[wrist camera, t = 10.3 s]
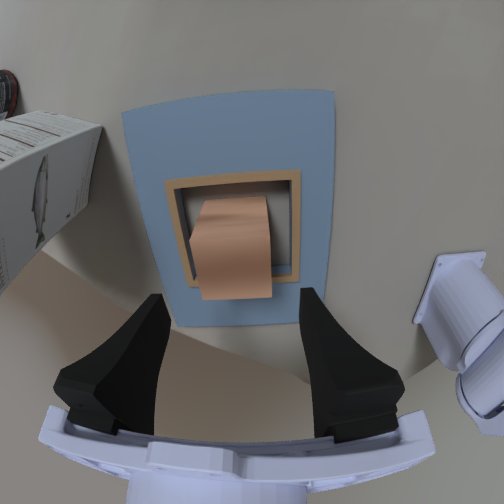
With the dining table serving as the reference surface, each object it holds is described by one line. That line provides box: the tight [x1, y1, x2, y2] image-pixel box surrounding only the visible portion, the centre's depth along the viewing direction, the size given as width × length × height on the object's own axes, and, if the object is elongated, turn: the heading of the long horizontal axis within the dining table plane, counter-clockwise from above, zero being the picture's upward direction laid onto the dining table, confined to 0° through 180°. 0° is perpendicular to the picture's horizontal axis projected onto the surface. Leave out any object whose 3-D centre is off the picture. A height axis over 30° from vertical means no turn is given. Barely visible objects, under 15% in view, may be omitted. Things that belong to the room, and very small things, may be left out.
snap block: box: [189, 196, 272, 300], centre depth 19 cm, size 4×4×6 cm
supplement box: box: [0, 110, 103, 295], centre depth 12 cm, size 7×7×13 cm
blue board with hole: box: [122, 90, 335, 327], centre depth 21 cm, size 20×14×2 cm
